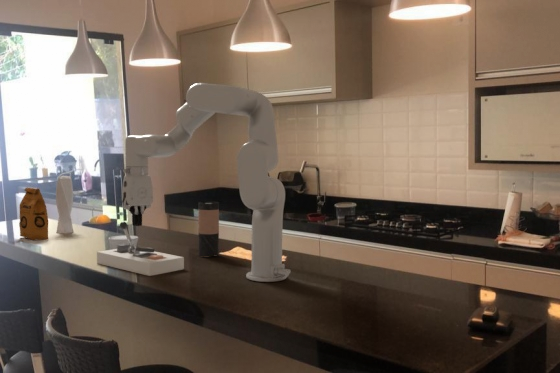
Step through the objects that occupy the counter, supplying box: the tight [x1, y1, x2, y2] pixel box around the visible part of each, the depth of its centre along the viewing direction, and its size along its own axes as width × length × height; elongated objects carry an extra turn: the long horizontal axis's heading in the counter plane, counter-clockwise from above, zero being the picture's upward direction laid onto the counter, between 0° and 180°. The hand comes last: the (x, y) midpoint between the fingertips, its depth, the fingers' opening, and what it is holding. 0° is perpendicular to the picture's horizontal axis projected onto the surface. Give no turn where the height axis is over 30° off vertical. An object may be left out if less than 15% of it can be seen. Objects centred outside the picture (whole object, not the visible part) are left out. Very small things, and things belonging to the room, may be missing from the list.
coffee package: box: [18, 187, 49, 241], centre depth 249 cm, size 10×12×22 cm
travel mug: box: [197, 201, 220, 257], centre depth 214 cm, size 8×8×20 cm
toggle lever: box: [119, 221, 136, 253], centre depth 194 cm, size 2×2×12 cm
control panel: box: [96, 247, 185, 277], centre depth 194 cm, size 29×14×6 cm, turn 50°
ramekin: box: [107, 234, 139, 250], centre depth 223 cm, size 11×11×5 cm
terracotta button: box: [150, 255, 163, 260], centre depth 188 cm, size 4×4×3 cm
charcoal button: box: [117, 244, 130, 253], centre depth 199 cm, size 4×4×3 cm
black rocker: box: [135, 246, 155, 252], centre depth 192 cm, size 3×5×1 cm, turn 140°
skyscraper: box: [55, 171, 74, 235], centre depth 266 cm, size 8×8×28 cm
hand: (137, 225), depth 196 cm, fingers closed
